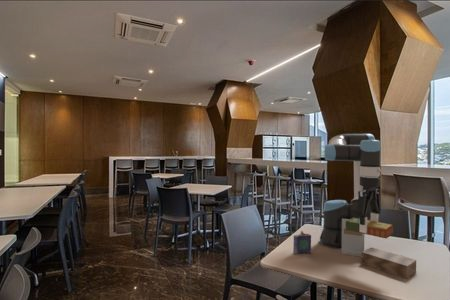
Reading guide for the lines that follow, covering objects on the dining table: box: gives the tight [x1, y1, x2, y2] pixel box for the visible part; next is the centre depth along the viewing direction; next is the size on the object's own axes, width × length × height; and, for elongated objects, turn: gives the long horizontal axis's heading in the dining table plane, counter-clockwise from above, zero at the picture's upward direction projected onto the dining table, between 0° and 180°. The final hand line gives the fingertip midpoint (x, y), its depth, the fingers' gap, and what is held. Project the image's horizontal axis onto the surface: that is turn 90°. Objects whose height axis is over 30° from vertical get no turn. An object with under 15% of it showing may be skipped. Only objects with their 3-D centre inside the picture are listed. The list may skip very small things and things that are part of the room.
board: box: [340, 219, 365, 258], centre depth 133 cm, size 5×10×16 cm, turn 64°
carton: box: [346, 218, 394, 239], centre depth 114 cm, size 8×16×4 cm, turn 43°
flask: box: [292, 230, 312, 256], centre depth 133 cm, size 9×3×11 cm, turn 105°
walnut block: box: [360, 247, 417, 279], centre depth 118 cm, size 18×10×5 cm, turn 38°
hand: (368, 230), depth 114 cm, fingers closed on carton, 9 cm apart
